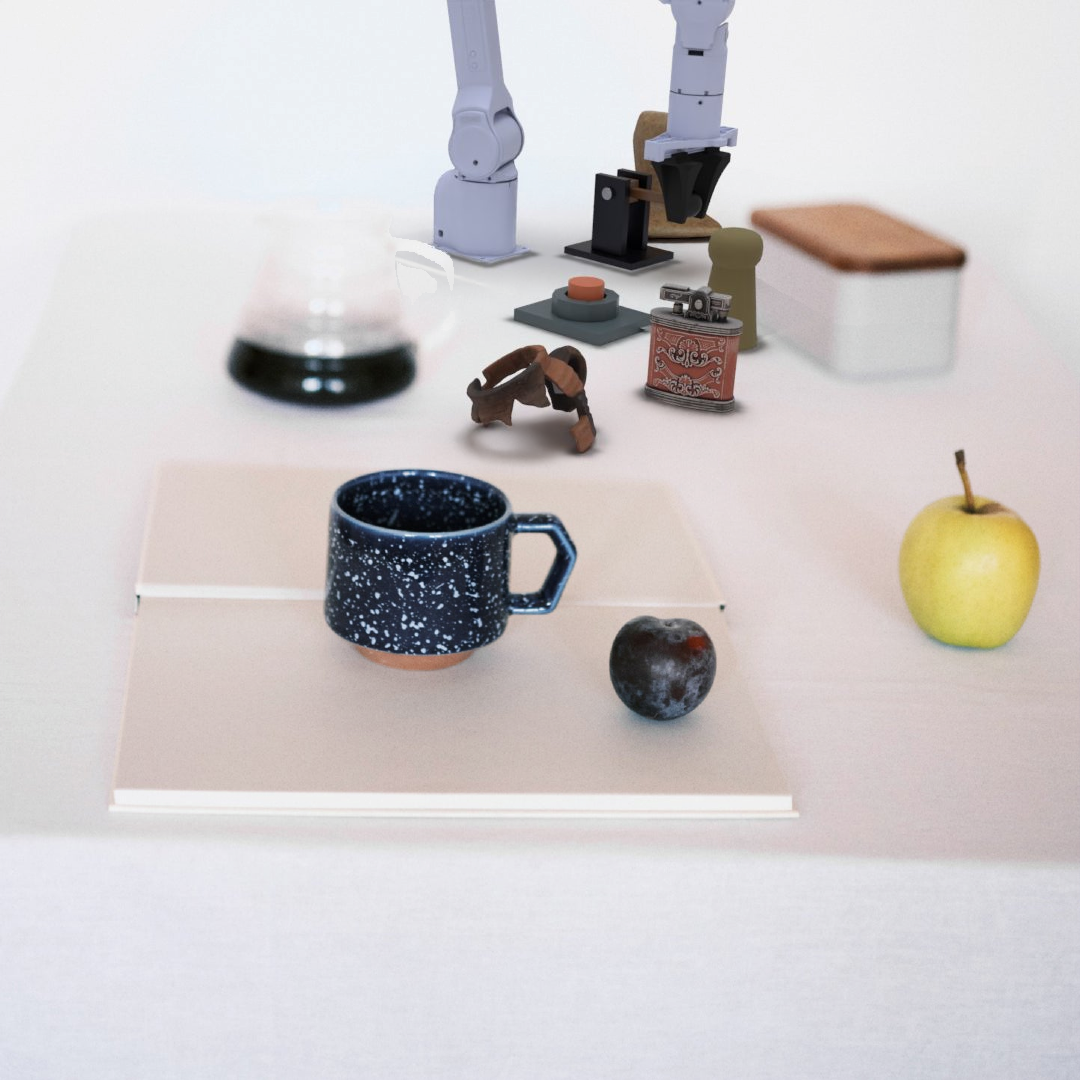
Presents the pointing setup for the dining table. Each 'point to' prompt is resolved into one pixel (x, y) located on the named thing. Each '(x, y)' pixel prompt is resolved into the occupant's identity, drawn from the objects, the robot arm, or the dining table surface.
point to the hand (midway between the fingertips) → (685, 219)
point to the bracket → (620, 224)
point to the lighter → (693, 349)
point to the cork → (737, 276)
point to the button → (586, 288)
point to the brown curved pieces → (535, 388)
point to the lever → (658, 197)
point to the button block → (584, 317)
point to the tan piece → (659, 227)
